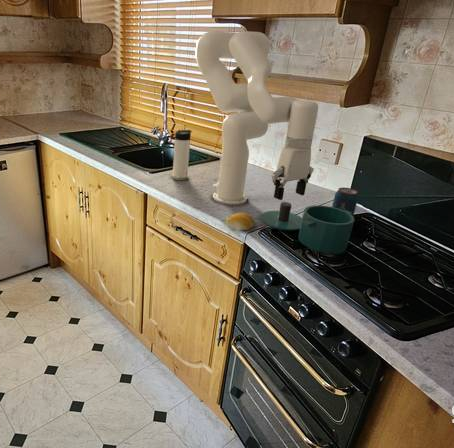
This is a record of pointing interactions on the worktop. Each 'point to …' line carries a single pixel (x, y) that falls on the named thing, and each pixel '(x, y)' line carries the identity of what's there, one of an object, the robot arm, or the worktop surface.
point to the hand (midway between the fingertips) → (289, 196)
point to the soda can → (346, 199)
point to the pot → (326, 229)
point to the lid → (282, 218)
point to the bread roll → (240, 221)
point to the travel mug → (181, 154)
